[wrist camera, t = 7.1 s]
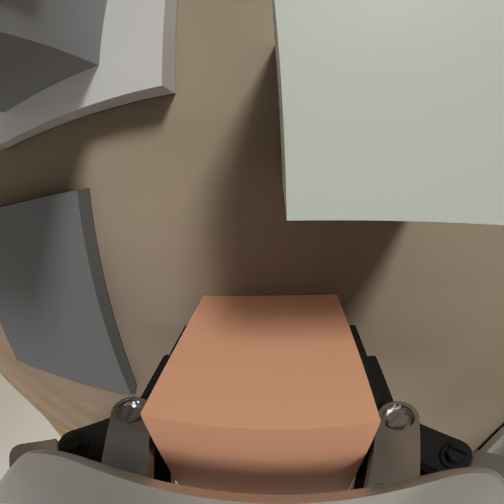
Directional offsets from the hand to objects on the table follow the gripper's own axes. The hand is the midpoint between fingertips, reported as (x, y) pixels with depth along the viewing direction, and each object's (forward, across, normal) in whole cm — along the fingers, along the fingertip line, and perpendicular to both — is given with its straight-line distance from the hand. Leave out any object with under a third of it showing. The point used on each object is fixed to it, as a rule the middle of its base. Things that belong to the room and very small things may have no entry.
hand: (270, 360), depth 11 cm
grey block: (+1, -3, -9) cm, 10 cm away
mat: (+1, +12, -2) cm, 12 cm away
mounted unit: (+1, +8, -16) cm, 18 cm away
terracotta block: (+1, 0, 0) cm, 1 cm away
